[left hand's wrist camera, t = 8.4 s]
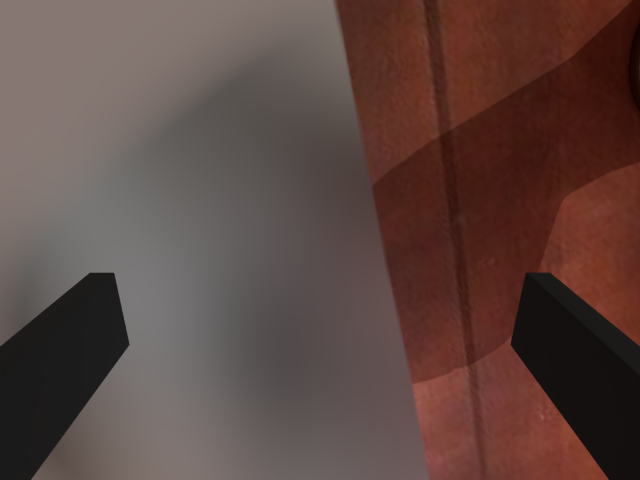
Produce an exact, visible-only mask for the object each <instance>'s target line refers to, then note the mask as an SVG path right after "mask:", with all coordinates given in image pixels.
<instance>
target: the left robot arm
mask: <svg viewBox="0 0 640 480" xmlns="http://www.w3.org/2000/svg"><path fill="white" fill-rule="evenodd" d="M630 81H631V87H632V91H633V95H634V98H635V100H636V103H637V105H638V107H639V108H640V26H639V28H638V31H637V34H636V37H635V40H634V44H633V48H632V53H631V59H630ZM128 346H129V340H128V335H127V331H126V326H125V322H124V317H123V312H122V307H121V303H120V298H119V294H118V289H117V284H116V279H115V275H114V273H89V274H88V275H87V276H85V277H84V278H83V279H82V280H81V281H79V282H78V283H77V284H76V285H75V286H73V287H72V288H71V289H70V290H68V291H67V292H66V293H65V294H64V295H62V296H61V297H60V298H59V299H58V300H56V301H55V302H54V303H53V304H51V305H50V306H49V307H48V308H47V309H45V310H44V311H43V312H42V313H40V314H39V315H38V316H37V317H36V318H34V319H33V320H32V321H31V322H30V323H28V324H27V325H26V326H25V327H23V328H22V329H21V330H20V331H19V332H17V333H16V334H15V335H14V336H12V337H11V338H10V339H9V340H8V341H6V342H5V343H4V344H3V345H1V346H0V480H31V479H32V477H33V476H34V475H35V473H36V472H37V471H38V469H39V468H40V466H41V465H42V464H43V462H44V461H45V460H46V458H47V457H48V456H49V454H50V453H51V451H52V450H53V449H54V447H55V446H56V445H57V443H58V442H59V441H60V439H61V438H62V436H63V435H64V434H65V432H66V431H67V429H68V428H69V427H70V425H71V424H72V423H73V421H74V420H75V419H76V417H77V416H78V414H79V413H80V412H81V410H82V409H83V408H84V406H85V405H86V403H87V402H88V401H89V399H90V398H91V397H92V395H93V394H94V393H95V391H96V390H97V389H98V387H99V386H100V384H101V383H102V382H103V380H104V379H105V377H106V376H107V375H108V373H109V372H110V371H111V369H112V368H113V367H114V365H115V364H116V362H117V361H118V360H119V358H120V357H121V356H122V354H123V353H124V351H125V350H126V349H127V347H128ZM511 346H512V347H513V349H514V350H515V352H516V353H517V354H518V356H519V357H520V358H521V360H522V361H523V362H524V364H525V365H526V367H527V368H528V369H529V371H530V372H531V373H532V375H533V376H534V378H535V379H536V380H537V382H538V383H539V384H540V386H541V387H542V389H543V390H544V391H545V393H546V394H547V395H548V397H549V398H550V399H551V401H552V402H553V404H554V405H555V406H556V408H557V409H558V410H559V412H560V413H561V415H562V416H563V417H564V419H565V420H566V421H567V423H568V424H569V425H570V427H571V428H572V430H573V431H574V432H575V434H576V435H577V436H578V438H579V439H580V441H581V442H582V443H583V445H584V446H585V447H586V449H587V450H588V451H589V453H590V454H591V456H592V457H593V458H594V460H595V461H596V462H597V464H598V465H599V467H600V468H601V469H602V471H603V472H604V473H605V475H606V476H607V477H608V479H609V480H640V346H639V345H637V344H636V343H635V342H634V341H632V340H631V339H630V338H629V337H628V336H626V335H625V334H624V333H623V332H621V331H620V330H619V329H618V328H617V327H615V326H614V325H613V324H612V323H611V322H609V321H608V320H607V319H606V318H604V317H603V316H602V315H601V314H600V313H598V312H597V311H596V310H595V309H593V308H592V307H591V306H590V305H589V304H587V303H586V302H585V301H584V300H583V299H581V298H580V297H579V296H578V295H576V294H575V293H574V292H573V291H572V290H570V289H569V288H568V287H567V286H565V285H564V284H563V283H562V282H561V281H559V280H558V279H557V278H556V277H555V276H553V275H552V274H551V273H526V275H525V279H524V284H523V289H522V293H521V298H520V303H519V307H518V312H517V317H516V321H515V326H514V331H513V335H512V340H511Z"/></svg>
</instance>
